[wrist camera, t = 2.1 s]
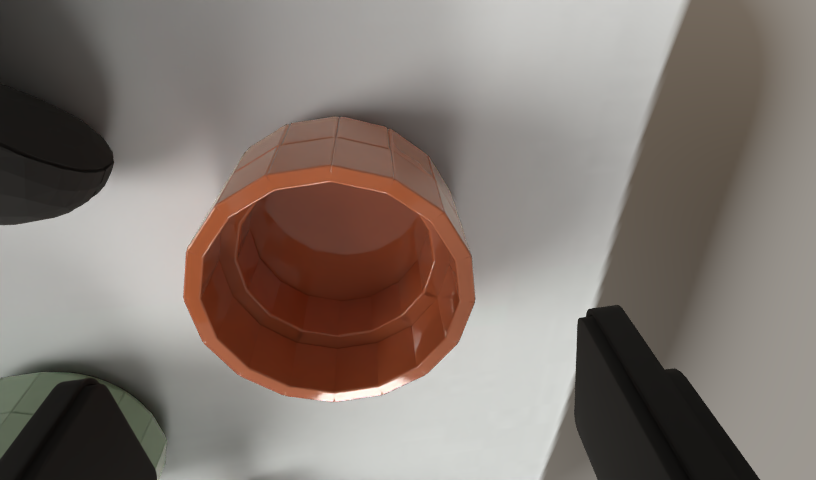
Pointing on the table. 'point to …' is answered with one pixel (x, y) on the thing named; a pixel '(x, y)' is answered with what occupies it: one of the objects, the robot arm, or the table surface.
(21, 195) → the gaming controller
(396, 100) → the table surface
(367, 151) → the terracotta bowl
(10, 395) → the sage bowl
